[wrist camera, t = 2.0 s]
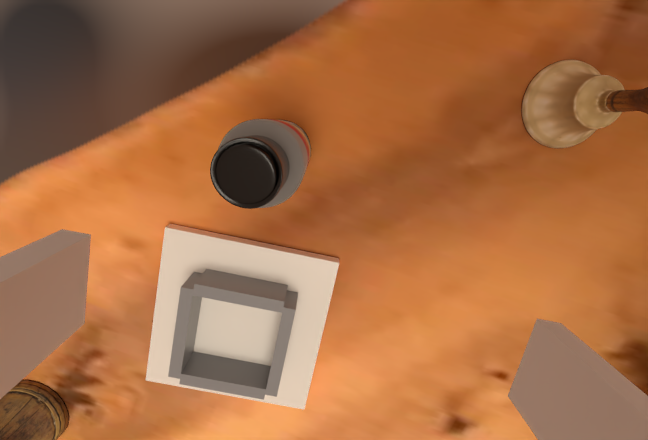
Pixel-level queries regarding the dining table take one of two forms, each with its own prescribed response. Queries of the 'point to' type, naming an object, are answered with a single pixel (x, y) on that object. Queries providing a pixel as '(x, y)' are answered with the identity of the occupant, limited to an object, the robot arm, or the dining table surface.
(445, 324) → the dining table surface
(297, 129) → the lotion bottle
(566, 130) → the hand bell
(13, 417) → the wooden mug
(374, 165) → the dining table surface
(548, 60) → the dining table surface
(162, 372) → the bottle holder
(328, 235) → the dining table surface
